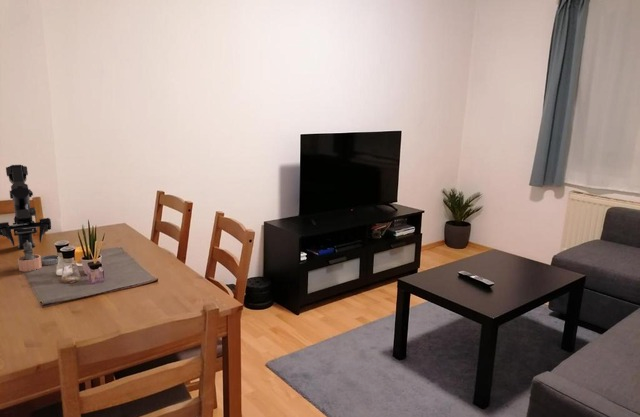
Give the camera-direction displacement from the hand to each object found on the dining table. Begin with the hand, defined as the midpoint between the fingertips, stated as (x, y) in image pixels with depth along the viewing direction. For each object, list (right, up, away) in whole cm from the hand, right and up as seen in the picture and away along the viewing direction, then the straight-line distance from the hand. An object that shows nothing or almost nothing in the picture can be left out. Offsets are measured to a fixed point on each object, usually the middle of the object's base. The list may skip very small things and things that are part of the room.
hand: (27, 243), depth 187 cm
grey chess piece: (+1, -10, 0) cm, 10 cm away
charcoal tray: (+5, -8, +8) cm, 12 cm away
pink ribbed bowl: (+1, -10, 0) cm, 10 cm away
